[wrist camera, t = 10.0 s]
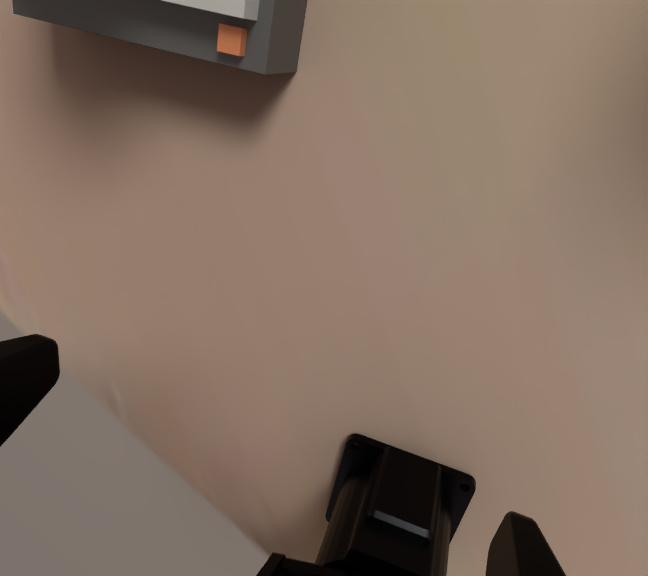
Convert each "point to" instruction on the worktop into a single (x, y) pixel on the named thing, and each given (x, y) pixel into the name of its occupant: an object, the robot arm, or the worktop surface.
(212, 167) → the worktop surface
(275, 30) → the grey recessed tray
